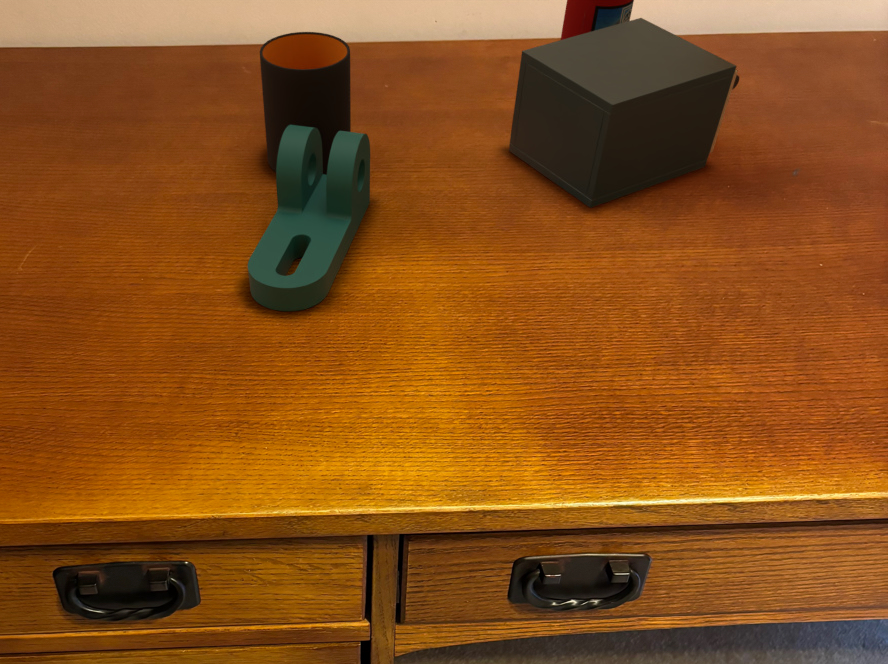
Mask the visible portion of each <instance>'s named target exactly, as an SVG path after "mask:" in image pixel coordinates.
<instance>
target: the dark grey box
mask: <svg viewBox="0 0 888 664" xmlns="http://www.w3.org/2000/svg"><path fill="white" fill-rule="evenodd" d="M519 63H520V64H519V71H518V77H517V78H518V79H517V86H516V92H515V93H516V94H515V100H514V108H513V115H512V124H511V129H510V130H511V131H510V138H509V146H508V151H509V152H510V153H511V154H513V155H514V156H516V157H517V158H519V159H520V160H522V162H524V163H525V164H528V166H530V167H531V168H533V169H534V170H535V171H537V172H539V173H540V174H541V175H542V176H544V177H545V178H547V179H548V180H550V181H551V182H553V183H554V184H555V185H557V186H558V187H560V188H561V189H563V190H564V191H565V192H567V193H568V194H570V195H571V196H572V197H574V198H575V199H577V200H578V201H580V203H582V204H584V205H585V206H586V207H588V208H589V209H593V208H595V207H597V206H600V205H604V204H606V203H609V202H611V201H614V200H617V199H620V198H623V197H625V196H627V195H631V194H633V193H636V192H639V191H642V190H644V189H648V188H651V187H653V186H655V185H658V184H662V183H664V182H667V181H670V180H673V179H675V178H679V177H680V176H684V175H686V174H687V175H688V174H689V173H692V172H694V171H698V170H700V169H703V168H705V167H706V165H707V162H708V159H709V155H710V154H711V153H710V150H711V147H712V143H713V140H714V137H715V134H716V131H717V127H718V124H719V121H720V118H721V114H722V111H723V108H724V105H725V102H726V98H727V95H728V92H729V89H730V85H731V82H732V79H733V76H734V73H735V70H737V65H736V64H734V63H732V62H730V61H728V60H726V59H724V58H722V57H720V56H718V55H717V54H716V55H715V53H712V52H710V51H709V50H706V49H704V48H702V47H700V46H698V45H696V44H694V43H693V42H690V41H688V40H686V39H684V38H682V37H681V36H678V35H676V34H675V33H672V32H670V31H669V30H666V29H665V28H662V27H661V26H659V25H657V24H654V23H652V22H650V21H649V20H647V19H645V18H643V17H639V18H635V19H632V20H630V21H628V22H624V23H621V24H617V25H613V26H610V27H606V28H603V29H599V30H595V31H592V32H588V33H585V34H581V35H577V36H574V37H570V38H567V39H563V40H561V39H560V40H556V41H552V42H550V43H545V44H542V45H538V46H535V47H532V48H528V49H523V50H522V51H521V56H520V62H519Z"/></svg>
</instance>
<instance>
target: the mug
mask: <svg viewBox="0 0 888 664" xmlns="http://www.w3.org/2000/svg"><path fill="white" fill-rule="evenodd" d="M259 64H260V76H261V90H262V103H263V116H264V127H265V129H264V131H265V141H266V143H265V144H266V155H267V163H268V166H269V167H270V168H271V170H272V171H273V172H275V173H276V167H277V157H278V151H279V146H280V142H281V138H282V135H283V133H284V131H285V129H286V128H287V126H289V125H297V126H305V127H313V128H317V129H318V130H319V132H320V135H321V141H322V157H323V174H325V175H327V168H328V161H329V155H330V151H331V147H332V143H333V140H334V138H335V136H336V134H337V132H338V131H347V132H352V130H351V129H352V127H351V125H352V123H351V120H352V119H351V118H352V117H351V116H352V115H351V112H352V111H351V110H352V109H351V108H352V107H351V106H352V104H351V102H352V101H351V100H352V99H351V49H350V46H349V44H348V43H347V42H346V41H345V40H343V39H342V38H340V37H338V36H335V35H333V34H332V35H331V34H328V33H324V32H317V31H295V32H289V33H284V34H280V35H278V36H275V37H272V38H270V39H269V40H267V41H265V42H264V43H263V44H262V46H261V47H260V49H259Z"/></svg>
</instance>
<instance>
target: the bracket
mask: <svg viewBox="0 0 888 664" xmlns="http://www.w3.org/2000/svg"><path fill="white" fill-rule="evenodd" d="M275 185H276V198H277V200H276V201H277V209H276V212H275V213H274V215H273V217H272V219H271V220H270V222H269V224H268V226H267V228H266V229H265V231H264V233H263V235H262V236H261V237H260V239H259V241H258V243H257V245H256V247H255V249H254V250H253V252H252V253H251V255H250V257H249V259H248V261H247V272H248V274H247V275H248V280H249V281H248V283H249V292H250V295H251V298H253V300H254V301H255V302H256V303H258V304H259V305H260V306H262V307H264V308H267V309H270V310H274V311H279V312H297V311H304V310H306V309H310V308H312V307H315V306H316V305H318V304H320V303H321V302H322V301H324V300H325V299H326V297H327V296H328V294H329V292H330V291H331V288H332V287H333V284H334V281H335V279H336V277H337V275H338V273H339V271H340V269H341V267H342V264H343V262H344V260H345V258H346V255H347V253H348V251H349V249H350V247H351V245H352V244H353V243H352V242H353V241H354V239H355V236H356V234H357V231H358V230H359V227H360V225H361V223H362V222H363V221H362V220H363V218H364V216H365V215H366V212H367V210H368V208H369V206H370V204H371V142H370V138H369V136H368V134H367V133H362V132H355V131H351V132H347V131H338V132H337V134H336V136H335V138H334V140H333V143H332V147H331V151H330V155H329V161H328V168H327V175H325V174H323V157H322V141H321V135H320V132H319V130H318V129H317V128H313V127H305V126H297V125H289V126H287V128H286V129H285V131H284V133H283V135H282V138H281V142H280V146H279V151H278V157H277V167H276V172H275ZM300 258H301V259H300ZM297 259H300V261H299V264H298V266H297V267H296V269H295V271H294V272H293V273H292V274H288V272H289V271H290V268H291V267H292V265H293V263H294V262H295V260H297Z"/></svg>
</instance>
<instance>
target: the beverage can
mask: <svg viewBox="0 0 888 664" xmlns="http://www.w3.org/2000/svg"><path fill="white" fill-rule="evenodd" d="M634 2H635V0H566V4H565V10H564V16H563V22H562V29H561V35H560V40H563V39H567V38H570V37H574V36H577V35H581V34H585V33H588V32H592V31H595V30H599V29H603V28H606V27H610V26H613V25H617V24H621V23H624V22H628V21H631V20H630V19H631V16H632V11H633V7H634Z"/></svg>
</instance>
